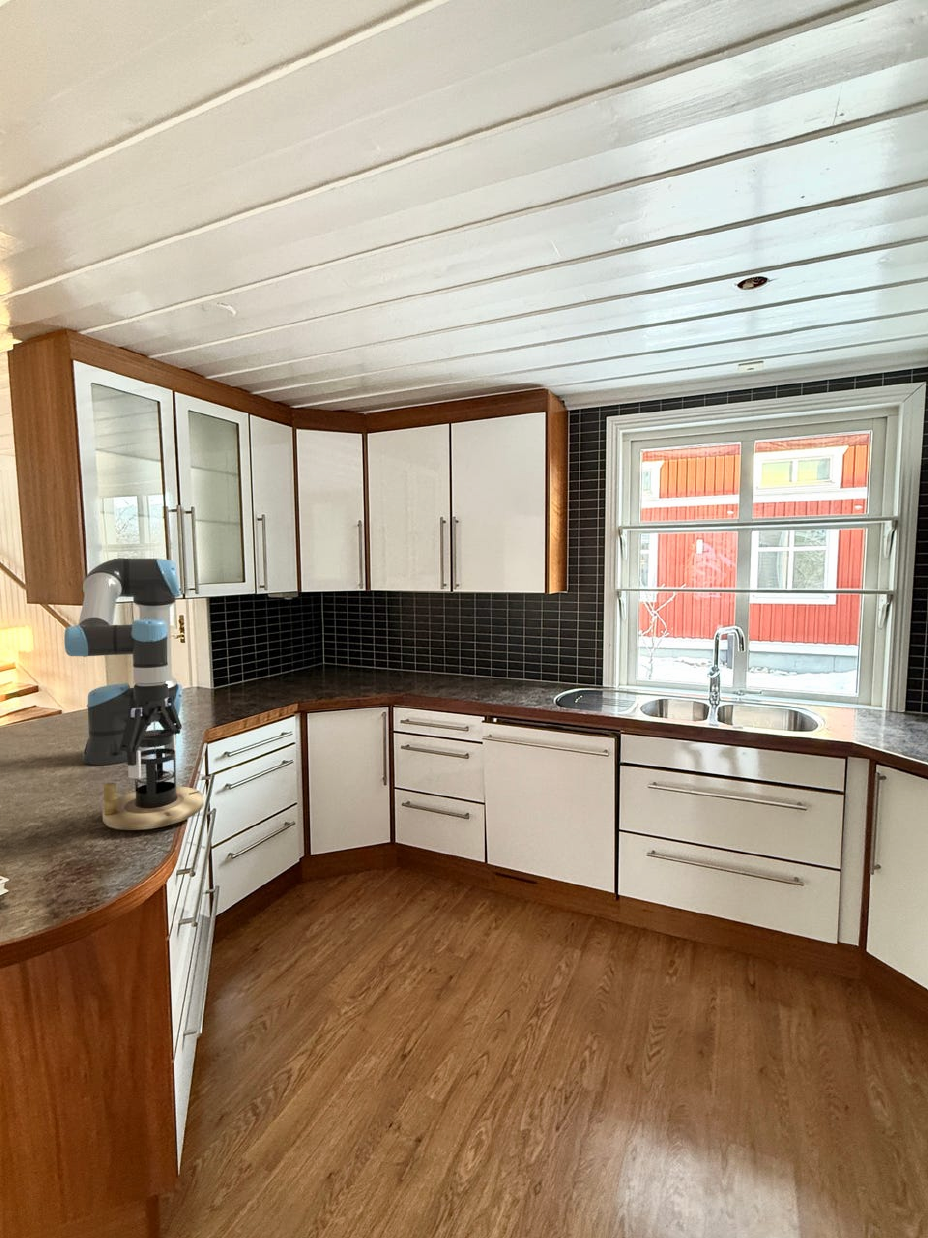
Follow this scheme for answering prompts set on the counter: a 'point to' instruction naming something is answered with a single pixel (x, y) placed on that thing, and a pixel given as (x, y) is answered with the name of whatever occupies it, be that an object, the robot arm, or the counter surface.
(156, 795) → the french press
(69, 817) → the counter surface
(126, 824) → the turntable
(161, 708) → the robot arm
